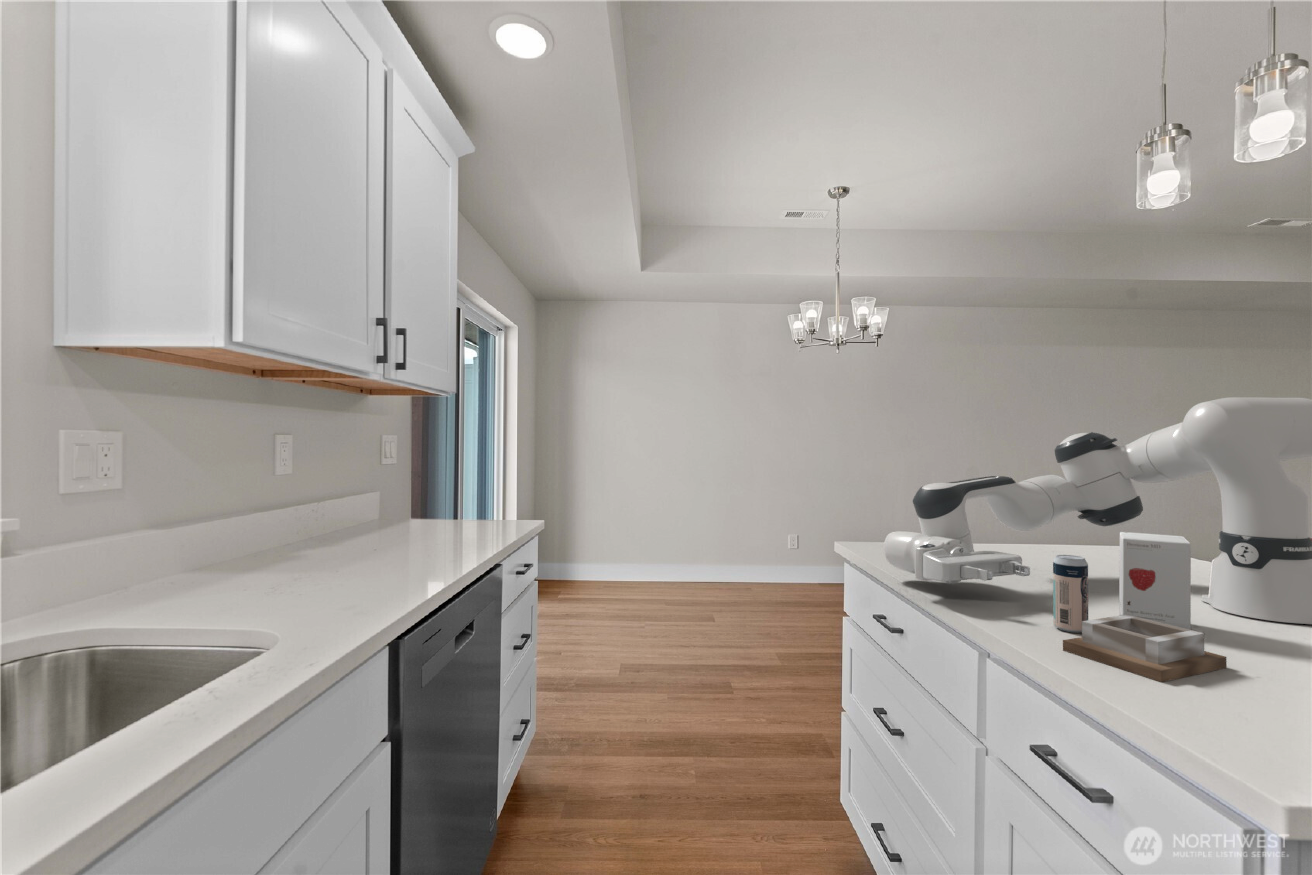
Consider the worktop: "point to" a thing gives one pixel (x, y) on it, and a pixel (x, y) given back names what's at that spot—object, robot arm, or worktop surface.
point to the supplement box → (1155, 578)
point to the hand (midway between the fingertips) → (1008, 573)
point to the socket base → (1145, 647)
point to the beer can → (1070, 592)
